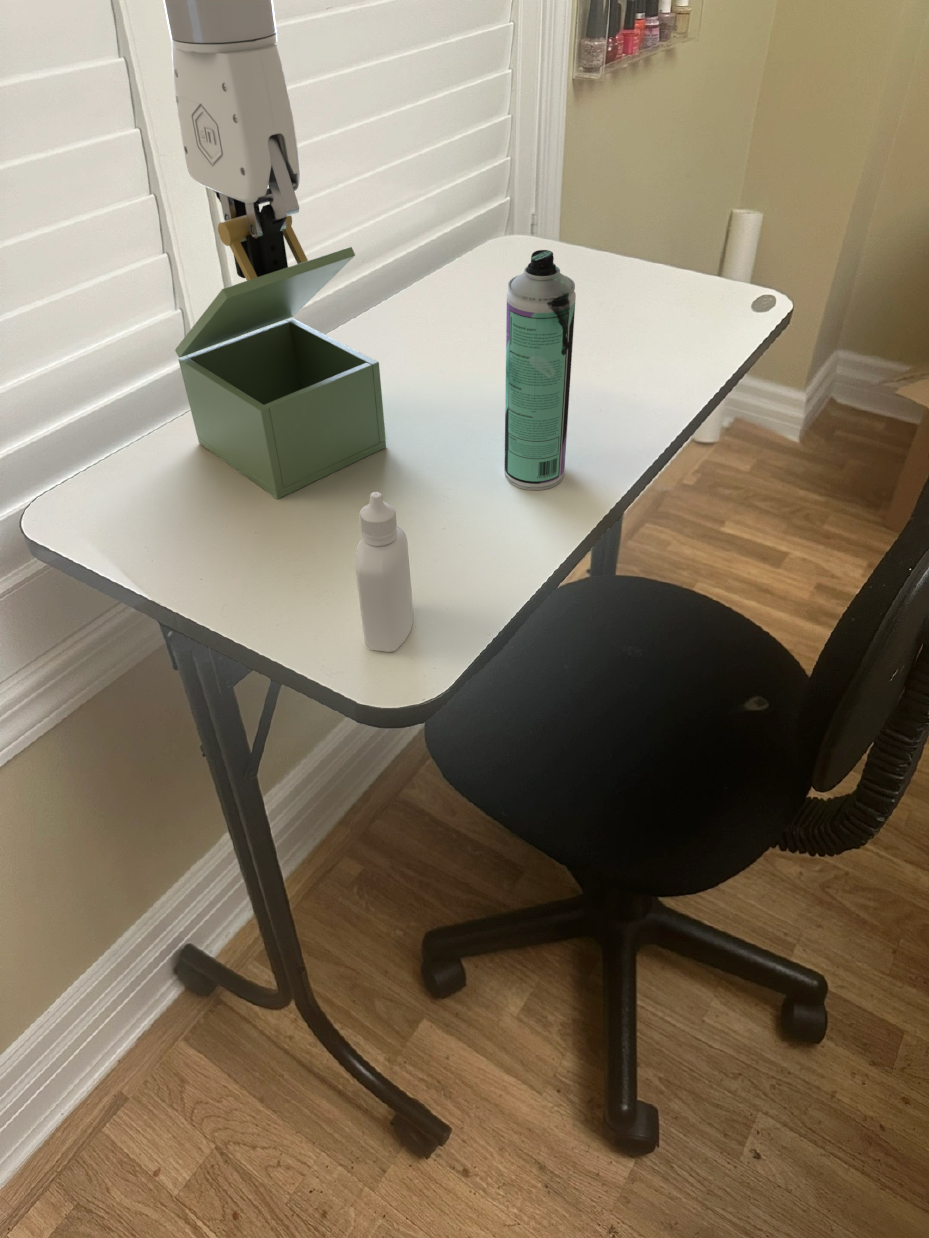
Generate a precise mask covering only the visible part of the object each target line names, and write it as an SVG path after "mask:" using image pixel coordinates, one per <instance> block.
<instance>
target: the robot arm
mask: <svg viewBox="0 0 929 1238" xmlns="http://www.w3.org/2000/svg"><path fill="white" fill-rule="evenodd" d="M162 1H163V5H164V6H163V7H164V10H165V16H166V21H167V26H168V32H169V36H170V42H171V63H172V64H171V65H172V78H173V87H174V95H175V103H176V109H177V110H176V111H177V116H178V124H179V130H180V135H181V141H182V148H183V153H184V160H185V163H186V168H187V172H188V174H189V175H190V177H191V178H192V179H193V180H194V181H195V182H196V183H198V184H199V185H201V186H203V187H205V188H207V189H209V190H212V192H213V193H214V194H215V195H216V198H217V200H219V202H220V205H221V212H222V216H223V220H224V221H227V220H230V219H234V218H237V217H241V216H244V215H247V219H248V225H249V231H250V233H251V235H249V236H246V241H243V242H240V243H241V245H242V247H243V249H244V251H245V253H246V255H247V257H248V259H249V261H250V263H251V265H252V267H253V269H254V271H255V273H256V275H257V277H260V276H263V275H266V274H269V273H272V272H275V271H278V270H281V269H284V268H287V267H289V263H288V257H287V251H286V249H287V248H286V244H285V243H286V241H285V237H284V235H283V231H284V230H285V229H286V222H285V220H286V218H287V216H290V215H291V216H293V215H296V214H298V213H300V204H299V202H298V198H297V196H296V191H297V190H298V189H299V187H300V184H301V166H300V156H299V155H300V154H299V147H298V140H297V134H296V133H297V132H296V128H295V123H294V115H293V111H292V105H291V99H290V95H289V91H288V85H287V80H286V77H285V72H284V68H283V64H282V60H281V57H280V53H279V49H278V45H277V44H276V43H278V32H277V25H276V18H275V10H274V1H273V0H162ZM265 203H268V204H265ZM262 204H265V205H263V206H261V209H260V205H262ZM233 259H234V263H235V269H236V275H237V276H238V277H240V278H242V279H246V278H245V276H244V274H243V272H242V270H241V268H240V266H239V264H238V262H237V260H236V258H235V256H234V255H233Z"/></svg>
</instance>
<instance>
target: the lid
mask: <svg viewBox="0 0 929 1238" xmlns="http://www.w3.org/2000/svg"><path fill="white" fill-rule="evenodd" d="M292 216H293V215H290V216H287V218H286V220H285V222H286V229H285V230H284V231H283V236H284V240H285V242H286V244H287V245H288V248H289V249H290V251H291V253H292V255H293V257H294V259H295V262H296V264H294V265H291V266H288V267H287V268H284V269H281V270H278V271H275V272H272V273H269V274H266V275H263V276H260V277H257V275H256V273H255V271H254V269H253V267H252V265H251V263H250V261H249V259H248V257H247V255H246V253H245V251H244V249H243V247H242V245H241V243H240V242H243V241H246V236H249V235H251V233H250V231H249V225H248V219H247V215H244V216H241V217H237V218H234V219H230V220H227V221H225V220H224V221H220V222H218V224H217V233H218V236H219V239H220V241H221V242H222V243H223V245H224V246H227V247H229V248H230V250H231V252H232V254H233V257H234V256H235V258H236V260H237V262H238V264H239V266H240V268H241V270H242V272H243V274H244V276H245V278H244V279H246V280H244V281H241V282H239V283H236V284H232V285H230V286H227V287H224V288H221V290H220V292H218V294H217V295H216V297H215V298H214V299H213V300H212V302H211V303H210V304H209V305H208V307H207V308H206V309H205V311H204V312H203V313H202V314H201V316H200V317H199V318H198V319H197V321H196V322H195V324H194V325H193V326H192V328H190V330H189V331H188V332H187V333H186V335H185V336H184V338H183V339H182V340H181V341H180V343H178V345H177V347H176V348H175V350H174V352H175V353H176V355H177V357H178V359H180V358H182V357H185V356H188V355H191V354H193V353H196V352H199V351H202V350H204V349H207V348H210V347H213V346H215V345H218V344H221V343H224V342H227V341H229V340H232V339H235V338H238V337H240V336H243V335H246V334H249V333H251V332H254V331H257V330H260V329H262V328H265V327H268V326H271V325H273V324H276V323H279V322H282V321H285V320H287V319H290V318H294V316H295V315H297V313H299V312H300V311H301V309H303V308H304V307H305V306H306V305H307V304H308V303H309V302H310V301H311V300H312V299H313V298H314V297H315V296H316V295H317V294H318V293H319V292H320V291H321V290H322V289H323V288H324V287H325V286H326V285H327V284H328V283H330V281H331V280H332V279H333V278H334V277H335V276H336V275H337V274H338V273H339V272H340V271H342V269H343V268H345V266H347V264H348V263H349V262H351V260H353V258H355V257H356V253H355V251H354V248H353V247H352V246H349V247H346V248H343V249H339V250H337V251H333V252H331V253H328V254H324V255H322V256H318V257H315V258H311V259H309V260H308V257H307V255H306V254H305V251H304V250H303V247H302V245H301V243H300V241H299V239H298V237H297V235H296V233H295V231H294V229H293V226H292V225H293V217H292Z"/></svg>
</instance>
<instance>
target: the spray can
mask: <svg viewBox="0 0 929 1238" xmlns="http://www.w3.org/2000/svg"><path fill="white" fill-rule="evenodd" d="M554 261H555V259H554V253H553V251H551V250H548V249H539V250H535V251H533V252H532V253H531V256H530V262H529V263H528V265H527V266H526V267H525V268H524V269H523V272H522V273H521V274H518V275H516V276H514V277H512V278H511V279H510V280H509V281H508V283H507V284H508V285H507V289H508V290H507V292H506V318H505V319H506V322H505V323H506V328H505V399H504V400H505V402H504V403H505V404H504V477H505V479H506V481H507V482H508V483H510V484H511V485H512V486H514V487H516V488H518V489H521V490H525V491H526V490H527V491H543V490H549V489H551V488H553V487H556V486H557V485H559V484H560V483H561V482H562V481H563V480H564V477H565V468H566V451H567V437H568V422H569V420H568V419H569V406H570V405H569V404H570V402H569V401H570V390H571V375H572V374H571V373H572V360H573V359H572V358H573V344H574V343H573V342H574V328H575V312H576V298H577V297H576V295H577V294H576V292H575V290H576V283H575V282H574V280H573V279H572V278H570V277H569V276H567V275H564V274H563V273H561V269H560V268H559V266H557V265H556V263H555V262H554Z"/></svg>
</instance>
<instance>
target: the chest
mask: <svg viewBox="0 0 929 1238" xmlns="http://www.w3.org/2000/svg"><path fill="white" fill-rule="evenodd" d="M178 363H179V368H180V371H181V372H180V373H181V375H182V379H183V384H184V388H185V393H186V396H187V400H188V404H189V409H190V412H191V417H192V420H193V425H194V428H195V429H194V430H195V432H196V436H197V440H198V443H199V444H200V445H201V446H202V447H204V448H206V449H207V450H208V451H210V453H212V454H214V455H215V456H216V457H218V458H219V459H221V460H222V461H224V462H225V463H226V464H228V465H229V466H231V467H232V468H233V469H235V470H236V471H237V472H239V473H241V474H242V475H244V477H246V478H247V479H249V481H252V482H253V483H255V484H256V485H257V486H258V487H260V488H261V489H263V490H264V491H266V492H267V493H268V494H270V495H271V496H273V498H276V499H277V500H279V499H281V498H283V497H285V496H287V495H290V494H291V493H293V492H295V491H297V490H300V489H302V488H304V487H306V486H309V485H310V484H312V483H315V482H316V481H318V480H321V479H323V478H325V477H326V476H329V475H332V474H334V473H336V472H338V471H340V470H342V469H344V468H346V467H348V466H350V465H352V464H354V463H356V462H358V461H361V460H363V459H365V458H367V457H369V456H371V455H373V454H375V453H377V452H379V451H381V450H383V449H385V448H387V441H386V438H387V437H386V427H385V418H384V417H385V416H384V404H383V395H382V394H383V393H382V392H383V391H382V382H381V372H380V371H381V370H380V363H379V361H377V360H375V359H373V358H372V357H370V356H367V355H366V354H363V353H362V352H360V351H357V350H355V349H354V348H352V347H349V346H348V345H347V344H344V343H342V342H340V341H338V340H337V339H335V338H333V337H330V336H328V335H326V334H325V333H322V332H321V331H319V330H317V329H315V328H312V327H311V326H309V325H307V324H305V323H303V322H301V321H299V320H297V319H295V318H294V317H291V318H288V319H285V320H283V321H280V322H277V323H274V324H272V325H269V326H266V327H263V328H260V329H258V330H255V331H252V332H249V333H247V334H244V335H241V336H238V337H236V338H233V339H230V340H227V341H225V342H222V343H219V344H216V345H213V346H211V347H208V348H205V349H202V350H200V351H197V352H194V353H191V354H189V355H186V356H183V357H180V358H178Z"/></svg>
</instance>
